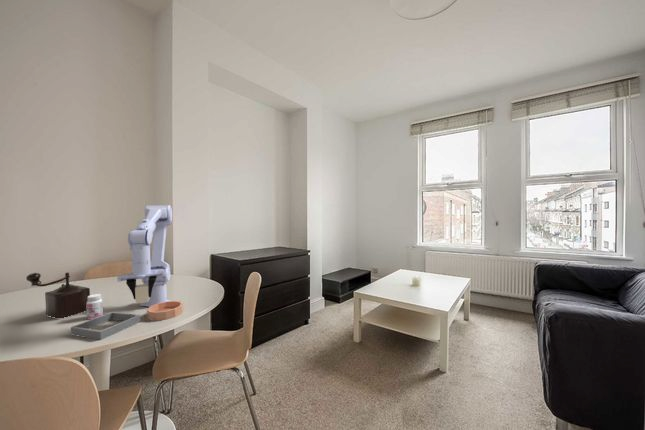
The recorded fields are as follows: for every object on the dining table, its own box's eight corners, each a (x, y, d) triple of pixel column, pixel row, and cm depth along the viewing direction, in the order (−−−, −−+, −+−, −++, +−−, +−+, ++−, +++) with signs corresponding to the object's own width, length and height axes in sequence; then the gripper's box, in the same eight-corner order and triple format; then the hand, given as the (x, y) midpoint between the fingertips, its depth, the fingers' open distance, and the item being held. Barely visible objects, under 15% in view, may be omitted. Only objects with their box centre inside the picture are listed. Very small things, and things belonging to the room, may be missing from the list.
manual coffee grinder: (76, 306, 115) (74, 265, 114) (91, 309, 111) (89, 267, 110) (26, 320, 100) (23, 273, 100) (41, 325, 96) (38, 276, 96)
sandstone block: (135, 303, 97) (135, 287, 97) (137, 300, 101) (136, 284, 101) (148, 301, 99) (148, 286, 99) (149, 298, 103) (149, 283, 102)
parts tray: (71, 334, 89) (70, 327, 89) (113, 318, 102) (112, 311, 102) (100, 339, 85) (100, 332, 85) (140, 321, 98) (140, 315, 98)
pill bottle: (85, 320, 100) (84, 298, 100) (89, 315, 104) (88, 294, 104) (101, 317, 102) (100, 296, 102) (104, 313, 106) (103, 292, 106)
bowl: (140, 318, 101) (139, 310, 101) (166, 306, 112) (166, 299, 112) (165, 321, 98) (164, 313, 98) (189, 309, 109) (189, 302, 109)
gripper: (114, 266, 93) (116, 304, 93) (163, 261, 99) (164, 297, 100) (118, 262, 99) (120, 298, 99) (164, 258, 106) (165, 291, 106)
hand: (142, 297), depth 100 cm, fingers closed on sandstone block, 4 cm apart
